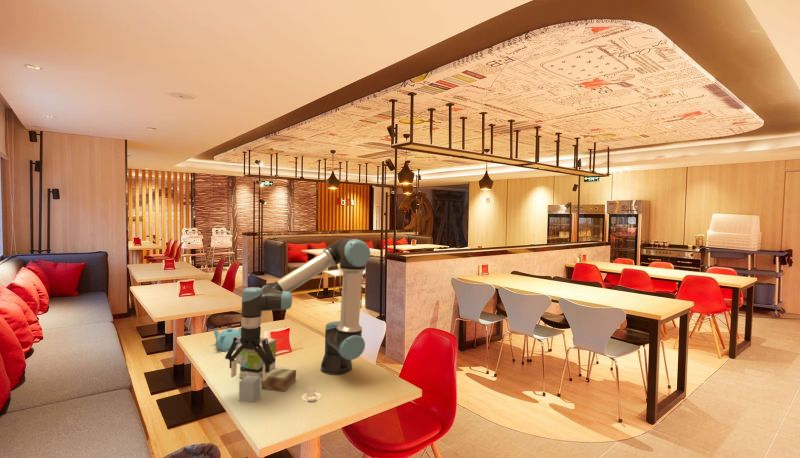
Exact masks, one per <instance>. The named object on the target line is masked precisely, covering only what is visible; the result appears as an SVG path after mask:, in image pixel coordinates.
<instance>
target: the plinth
mask: <svg viewBox="0 0 800 458" xmlns="http://www.w3.org/2000/svg"><path fill="white" fill-rule="evenodd" d="M262 380H263V377H262V378H261V390H264V391H265V390H266V391H276V392H287V391H288V390H289V389H290V388H291V387H292V385H294V384H295V383H296V381H297V369H288V368H287V369H286V368H278V367H277V368H276V367H275V368H273V369H271V370H270V371H269V372H268V375H267V379H266V380H265V381H262Z"/></svg>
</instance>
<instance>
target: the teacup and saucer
mask: <svg viewBox="0 0 800 458" xmlns="http://www.w3.org/2000/svg"><path fill="white" fill-rule="evenodd" d="M306 389H307V390H306V391H307V392H305V393H303V394H302V395H301V400H303V401H304V402H314V401H318V400H319V399H321V397H322V395H321V393H319V392H316V387H315V386H308V387H307V388H306ZM315 395H317V397H316V396H315ZM306 396H307V399H306V398H305V397H306Z"/></svg>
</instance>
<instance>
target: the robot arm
mask: <svg viewBox="0 0 800 458" xmlns="http://www.w3.org/2000/svg"><path fill="white" fill-rule="evenodd" d="M370 259H371V250H370V247H369V246H368V244H367V243H366V242H365V241H363V240H361V239H357V238H351V237H343V238H340V239H338V240H336V241H335V242H333V243H331V244H330V245H328V246H327V247H325V248H324V249H323V251H322V252H321V253H319V254H318V255H316V256H315V257H313V258H311V259H310V260H308V261H307V262H305V263H303V264H302V265H300V266H298V267H297V268H295V269H294V270H292V271H290V272H289V273H288V274H286V275H284V276H282V277H281V278H279V279H278V280H276V281H274V282H273V283H270V284H266V285H263V286H262V287H254V286H252V287H245V288H243V290H242V296H241V321H240V324H241V325H240V326H241V327H240V328H241V337H239V336H236V337H234V338H233V343H232V345H231V347H230V349H229V351H227V353H226V354H225V356H224V358H225V360H228V361H229V369H230V378H234V377H235V376H237V366H238V364H237V363H238V362H237V359H236V357H237V356H238V355H239V353H240V352H241V351H242V350H243V349H244V348H245V349H250V350H255V352H257V353H258V355H259V356H260V358H261V359H262V360H263V362H264V363H265V364H264V365H263V380H262V381H265V380H266V379H267V375H268V372H269V370H270V364H272V363H273V362H274V361H275V362H276V360H275V359H274V357H273V355H272V352H271V350H270V347H269V345H268V339H262V340H261V339H260V338H261V333H262V331H261V329H262V327H261V325H262V312H266V311H267V312H269V311H284V310H290V309H291V307H292V305H293V295H292V293H291V292H293V291H294V290H296V289H298V288H299V287H300V286H302V285H304V284H305V283H307V282H308V281H310V280H312V279H313V278H314V277H316V276H318V275H319V274H321V273H322V272H324V271H325V270H327V269H329V268H330V267H336V266H337V265H338V264H339V269H340V270H341V272H342V286H341V300H340V302H341V304H340V305H341V306H340V320H339V321H337V320H336V321H331V322H327V323H326V325H325V329H324V332H325V334H324V337H325V338H324V355H323V357H322V360H321V363H320V370H321V372H322V373H323V374H327V375H334V376H335V375H336V376H337V375H338V376H339V375H345V374H347V373H350V372H351V371H352V370H353V362H352V361H353V360H357V359H358V358H359V357H360V356H361V355H362V354H363V352H365V351H364V350H365V349H366V342H365V340H364V338H363V337H362V336H363V335H362V333H363V328H362V327H363V326H361V325H360V314H361V313H360V312H361V311H360V310H361V297H362V279H363V277H362V275H363V273H364V271H366V266H367V264H368V262H369V260H370ZM239 341H240V342H241V344H242V345H241V346H240V347H239V349H238V350H237V351H236V350H235V348H236V346H237V344H238V342H239ZM260 343H261V345H262V346H263V349H264V351H265V352H264V351H263V350H262V347H261V346H260ZM257 347H258V348H257Z"/></svg>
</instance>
